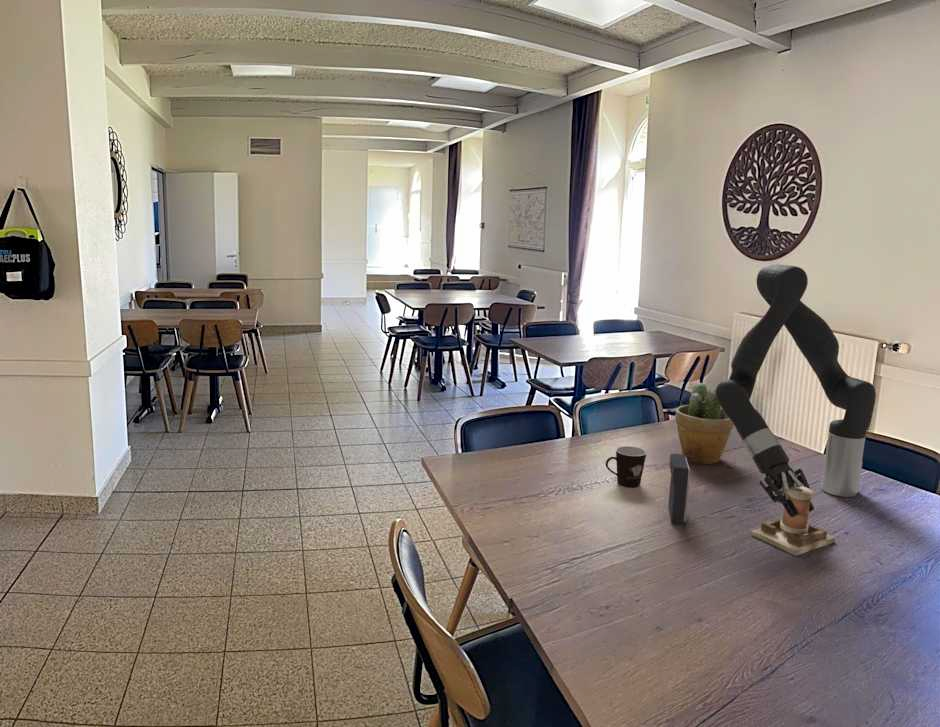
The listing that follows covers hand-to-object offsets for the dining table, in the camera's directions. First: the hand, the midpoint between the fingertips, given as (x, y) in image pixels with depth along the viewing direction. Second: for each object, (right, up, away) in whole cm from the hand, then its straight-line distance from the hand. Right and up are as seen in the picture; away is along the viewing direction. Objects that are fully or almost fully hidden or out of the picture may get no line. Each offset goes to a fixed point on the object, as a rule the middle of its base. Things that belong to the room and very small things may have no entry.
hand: (802, 513), depth 166 cm
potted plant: (-5, +5, +59) cm, 59 cm away
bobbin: (-1, -4, +2) cm, 5 cm away
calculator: (-26, -4, +15) cm, 30 cm away
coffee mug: (-35, +1, +35) cm, 50 cm away
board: (-1, -7, +3) cm, 8 cm away
